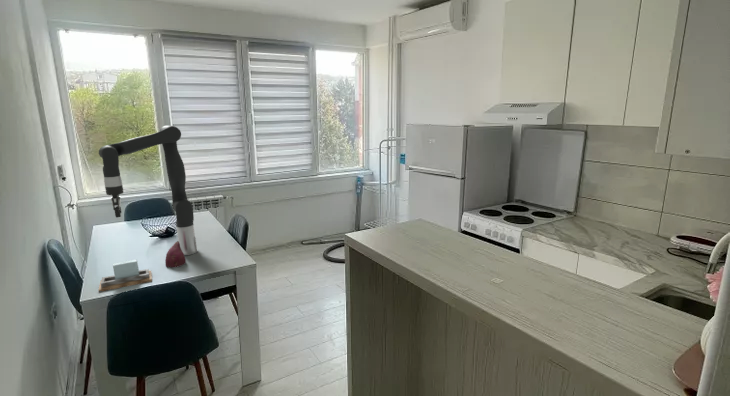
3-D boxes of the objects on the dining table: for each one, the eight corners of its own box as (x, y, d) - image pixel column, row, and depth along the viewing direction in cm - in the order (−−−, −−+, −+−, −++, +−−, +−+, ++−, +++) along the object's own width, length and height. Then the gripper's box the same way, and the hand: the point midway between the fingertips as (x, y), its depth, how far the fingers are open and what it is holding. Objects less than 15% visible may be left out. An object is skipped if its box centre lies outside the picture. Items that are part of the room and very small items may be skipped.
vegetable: (188, 265, 213) (193, 240, 212) (179, 271, 203) (185, 244, 201) (169, 261, 212) (174, 236, 211) (160, 266, 202) (165, 240, 201)
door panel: (139, 275, 190) (136, 259, 188) (139, 278, 187) (136, 261, 185) (116, 280, 185) (113, 263, 183) (115, 282, 182) (112, 265, 180)
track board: (151, 272, 197) (150, 266, 196) (152, 281, 186) (151, 275, 186) (101, 282, 186) (100, 276, 185) (98, 292, 176) (97, 285, 175)
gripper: (121, 186, 187) (126, 217, 191) (122, 182, 199) (127, 211, 203) (103, 188, 184) (109, 219, 187) (105, 183, 196) (111, 213, 199)
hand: (118, 215), depth 195 cm, fingers open, 8 cm apart
